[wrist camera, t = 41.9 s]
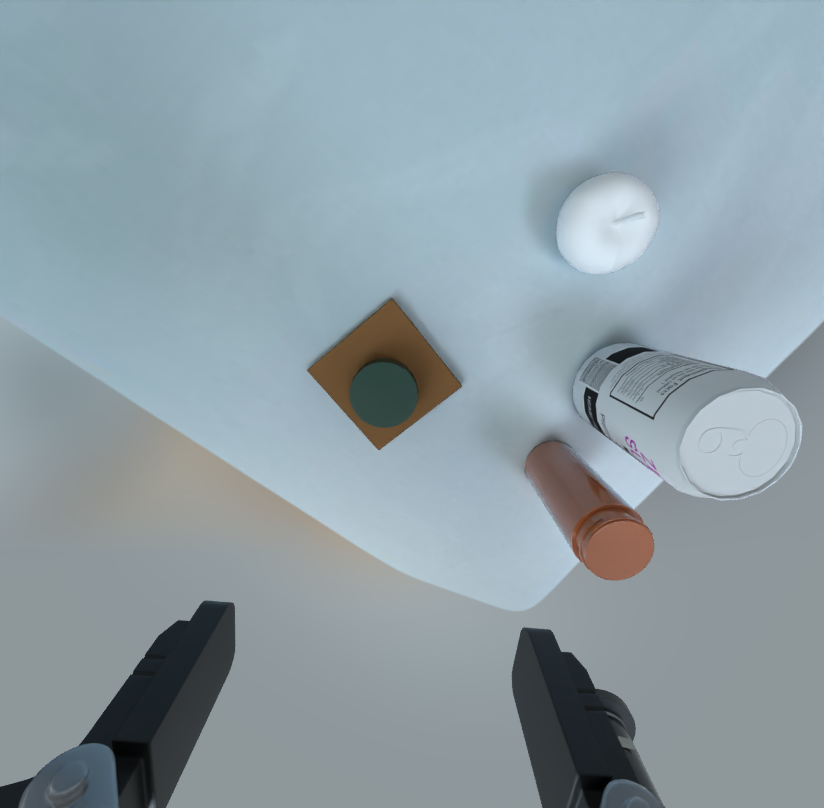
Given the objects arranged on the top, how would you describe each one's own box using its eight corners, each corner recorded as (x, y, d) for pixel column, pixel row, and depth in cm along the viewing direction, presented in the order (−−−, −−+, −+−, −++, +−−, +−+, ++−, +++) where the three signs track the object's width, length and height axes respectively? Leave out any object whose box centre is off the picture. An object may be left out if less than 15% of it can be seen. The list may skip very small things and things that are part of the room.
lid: (387, 343, 36) (386, 346, 34) (431, 394, 37) (432, 399, 36) (338, 386, 37) (334, 391, 35) (382, 434, 38) (380, 441, 37)
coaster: (461, 385, 38) (462, 386, 37) (379, 448, 39) (378, 450, 39) (392, 298, 36) (392, 298, 35) (308, 369, 37) (306, 370, 37)
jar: (588, 461, 40) (675, 546, 27) (551, 498, 41) (617, 597, 28) (550, 430, 39) (621, 502, 26) (513, 469, 40) (563, 556, 27)
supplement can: (669, 348, 37) (837, 386, 22) (643, 433, 39) (779, 517, 25) (582, 335, 37) (696, 366, 22) (560, 422, 39) (651, 501, 24)
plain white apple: (624, 272, 35) (684, 268, 27) (541, 278, 35) (578, 275, 27) (630, 182, 33) (697, 151, 25) (543, 188, 33) (583, 159, 26)
